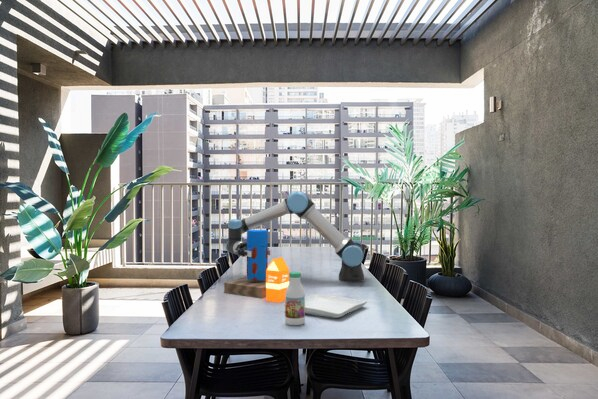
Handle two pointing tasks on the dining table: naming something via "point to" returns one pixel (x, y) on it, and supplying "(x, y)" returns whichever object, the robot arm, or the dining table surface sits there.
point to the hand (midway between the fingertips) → (260, 253)
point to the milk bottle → (295, 301)
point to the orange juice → (277, 280)
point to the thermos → (257, 254)
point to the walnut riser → (246, 287)
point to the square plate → (331, 305)
